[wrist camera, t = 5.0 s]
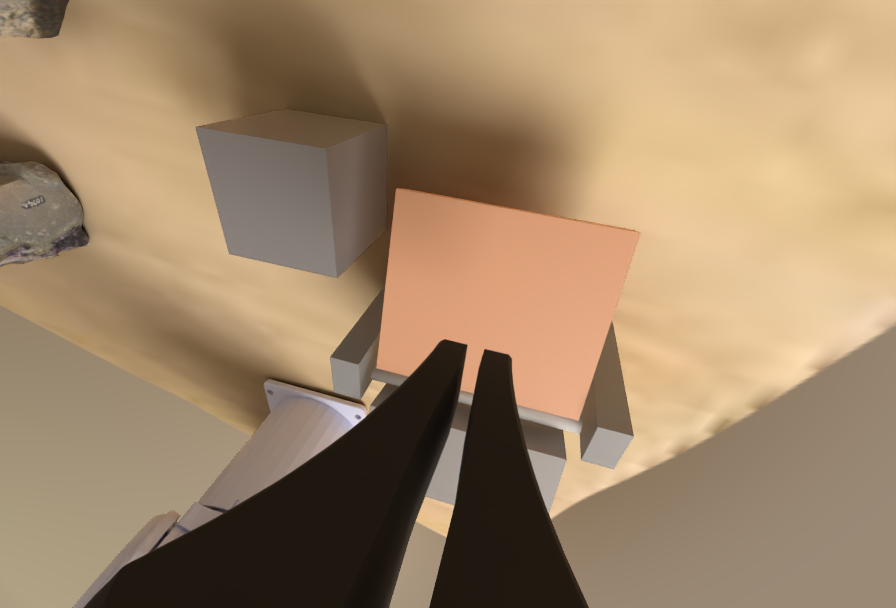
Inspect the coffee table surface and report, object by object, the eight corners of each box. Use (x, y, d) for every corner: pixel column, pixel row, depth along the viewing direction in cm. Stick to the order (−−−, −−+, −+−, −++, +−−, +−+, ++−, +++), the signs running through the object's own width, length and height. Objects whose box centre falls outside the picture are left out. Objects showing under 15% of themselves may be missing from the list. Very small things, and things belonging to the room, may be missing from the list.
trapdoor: (550, 489, 17) (552, 535, 15) (375, 439, 18) (353, 474, 16) (634, 228, 13) (655, 237, 11) (405, 187, 14) (381, 187, 12)
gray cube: (387, 228, 19) (337, 278, 15) (300, 211, 20) (229, 253, 15) (387, 124, 16) (325, 148, 12) (286, 108, 17) (195, 127, 13)
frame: (596, 360, 20) (609, 476, 14) (392, 312, 22) (335, 400, 16) (612, 322, 18) (633, 436, 13) (393, 274, 20) (330, 357, 15)
